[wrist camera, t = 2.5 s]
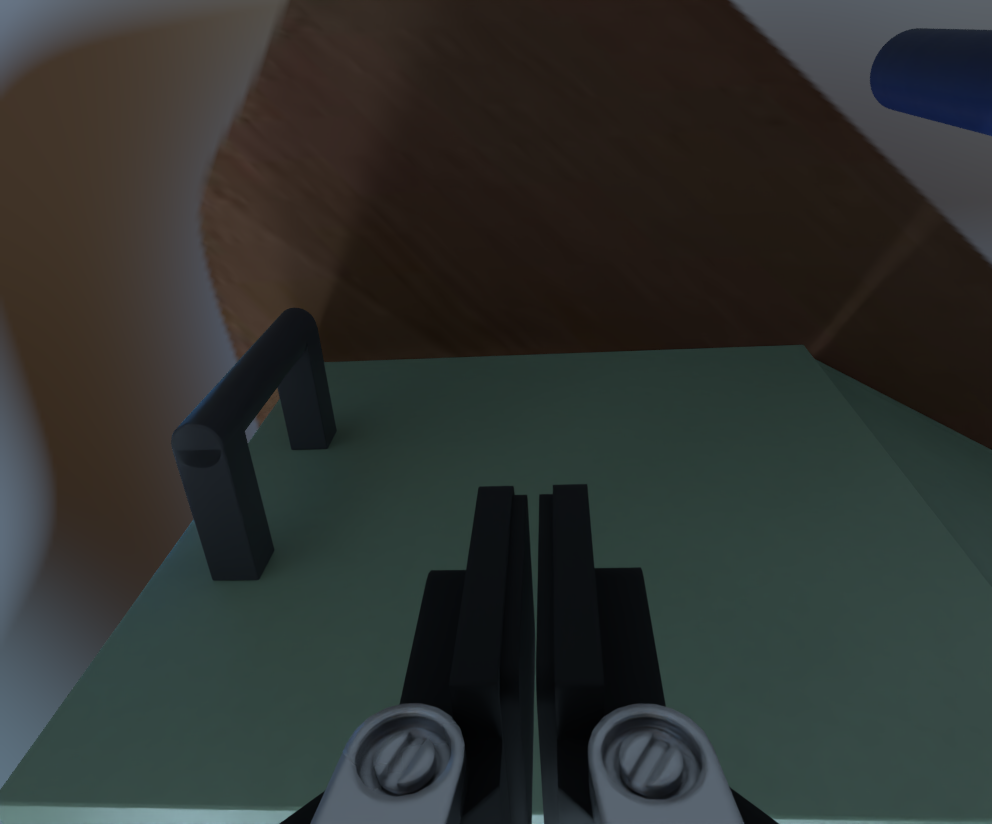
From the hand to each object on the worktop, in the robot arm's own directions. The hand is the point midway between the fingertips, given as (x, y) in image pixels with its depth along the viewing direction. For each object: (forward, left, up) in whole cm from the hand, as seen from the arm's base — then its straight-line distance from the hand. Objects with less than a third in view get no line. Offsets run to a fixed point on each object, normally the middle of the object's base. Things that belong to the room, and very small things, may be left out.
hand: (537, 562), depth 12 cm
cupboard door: (+5, +2, -27) cm, 27 cm away
